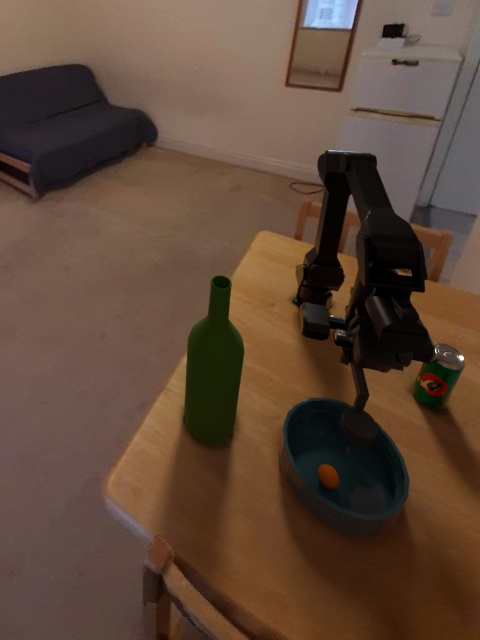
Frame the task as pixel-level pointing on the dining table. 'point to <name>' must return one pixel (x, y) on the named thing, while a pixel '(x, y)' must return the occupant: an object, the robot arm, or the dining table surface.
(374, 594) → the dining table surface
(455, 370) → the soda can
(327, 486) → the orange ball
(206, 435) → the wine bottle
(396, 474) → the bowl
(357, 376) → the ladle
